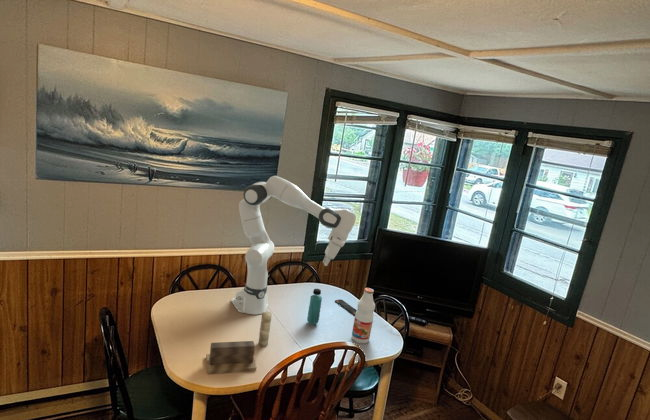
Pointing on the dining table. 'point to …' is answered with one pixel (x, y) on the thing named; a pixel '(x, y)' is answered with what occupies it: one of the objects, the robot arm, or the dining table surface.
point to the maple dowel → (264, 329)
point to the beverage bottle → (314, 307)
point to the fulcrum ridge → (231, 357)
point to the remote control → (346, 306)
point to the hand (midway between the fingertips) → (324, 264)
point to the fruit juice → (364, 317)
